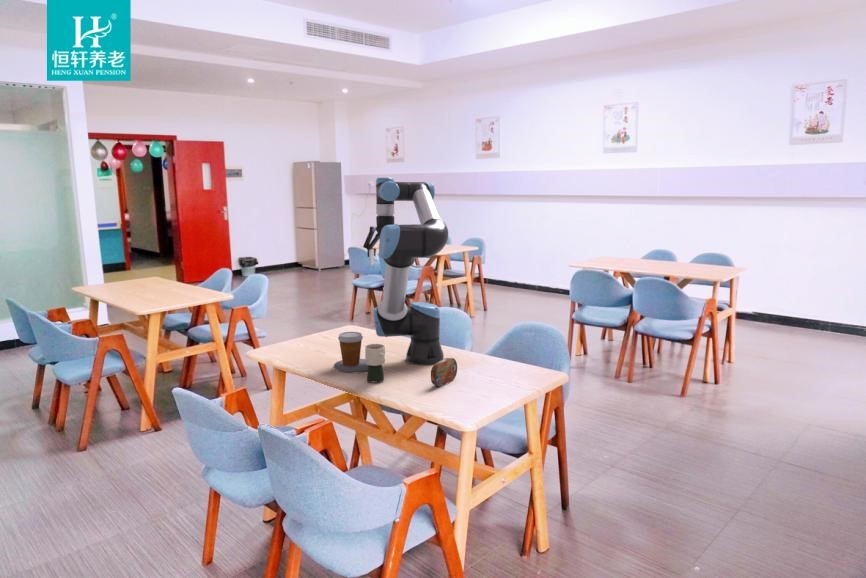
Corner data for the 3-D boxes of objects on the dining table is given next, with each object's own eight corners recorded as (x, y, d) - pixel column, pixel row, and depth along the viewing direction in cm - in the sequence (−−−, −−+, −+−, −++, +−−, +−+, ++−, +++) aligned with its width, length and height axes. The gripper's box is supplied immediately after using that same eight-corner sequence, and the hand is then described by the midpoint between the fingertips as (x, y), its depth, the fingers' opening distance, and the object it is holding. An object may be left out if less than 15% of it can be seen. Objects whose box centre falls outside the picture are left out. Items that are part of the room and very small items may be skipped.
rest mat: (382, 363, 235) (382, 361, 235) (361, 374, 221) (361, 372, 220) (348, 358, 241) (348, 356, 241) (325, 369, 227) (325, 367, 227)
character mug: (392, 382, 212) (392, 347, 210) (375, 387, 207) (375, 351, 205) (375, 375, 220) (374, 341, 218) (359, 379, 216) (358, 344, 214)
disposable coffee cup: (336, 367, 226) (335, 337, 224) (341, 360, 236) (340, 331, 234) (361, 368, 226) (360, 337, 224) (365, 360, 235) (364, 331, 233)
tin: (436, 389, 206) (436, 366, 204) (428, 387, 207) (429, 364, 206) (457, 378, 218) (458, 356, 217) (450, 376, 220) (450, 354, 218)
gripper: (416, 215, 246) (416, 266, 249) (363, 214, 256) (364, 263, 259) (408, 215, 239) (408, 267, 242) (354, 214, 249) (355, 265, 252)
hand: (385, 265), depth 251 cm, fingers open, 13 cm apart
